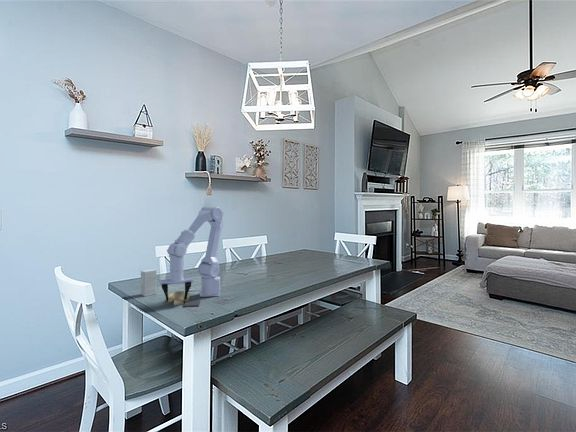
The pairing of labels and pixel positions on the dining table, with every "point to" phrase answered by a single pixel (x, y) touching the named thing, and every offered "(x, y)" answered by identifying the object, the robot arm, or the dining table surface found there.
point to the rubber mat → (192, 303)
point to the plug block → (178, 297)
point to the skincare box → (148, 282)
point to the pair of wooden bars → (173, 297)
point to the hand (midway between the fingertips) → (176, 299)
